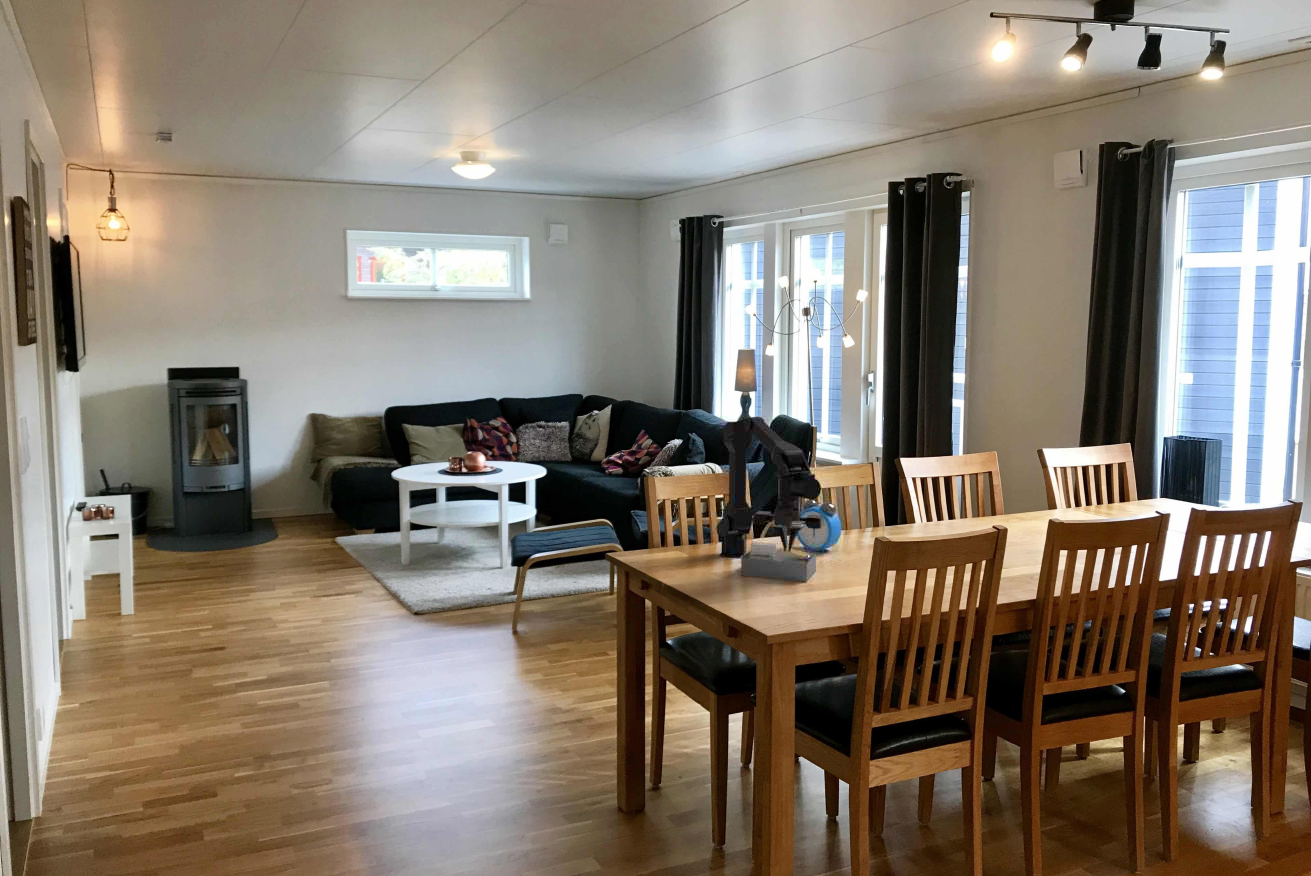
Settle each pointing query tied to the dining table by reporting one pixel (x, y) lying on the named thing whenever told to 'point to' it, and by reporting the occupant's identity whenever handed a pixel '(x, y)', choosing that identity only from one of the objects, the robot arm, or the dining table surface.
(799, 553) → the brass latch
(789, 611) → the dining table surface
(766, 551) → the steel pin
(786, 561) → the block
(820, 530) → the alarm clock
